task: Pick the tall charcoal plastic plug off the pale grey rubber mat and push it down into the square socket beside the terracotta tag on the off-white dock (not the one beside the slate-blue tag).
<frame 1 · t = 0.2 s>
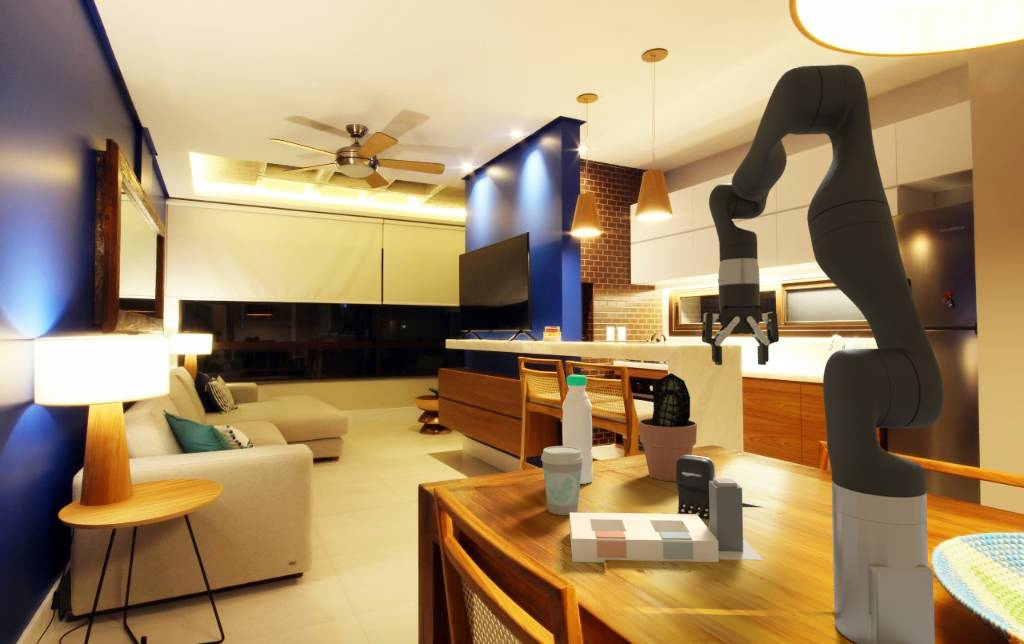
hand: (740, 364, 108), 29 cm above the table, fingers open, 8 cm apart
coffee cup: (562, 511, 108), on the table
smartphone: (747, 514, 106), on the table
water bottle: (577, 482, 128), on the table
dock: (638, 547, 89), on the table
mat: (726, 549, 88), on the table
plug: (726, 546, 88), resting on mat
potted plant: (668, 477, 132), on the table
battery: (695, 518, 103), on the table
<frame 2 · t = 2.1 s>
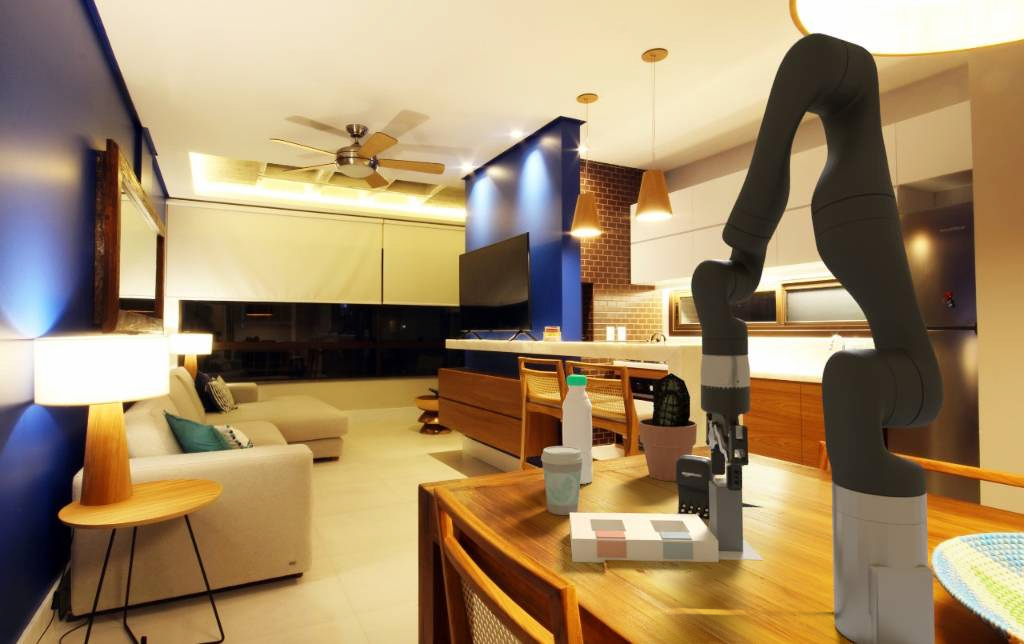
hand: (725, 481, 88), 11 cm above the table, fingers open, 8 cm apart
nothing on the table moved.
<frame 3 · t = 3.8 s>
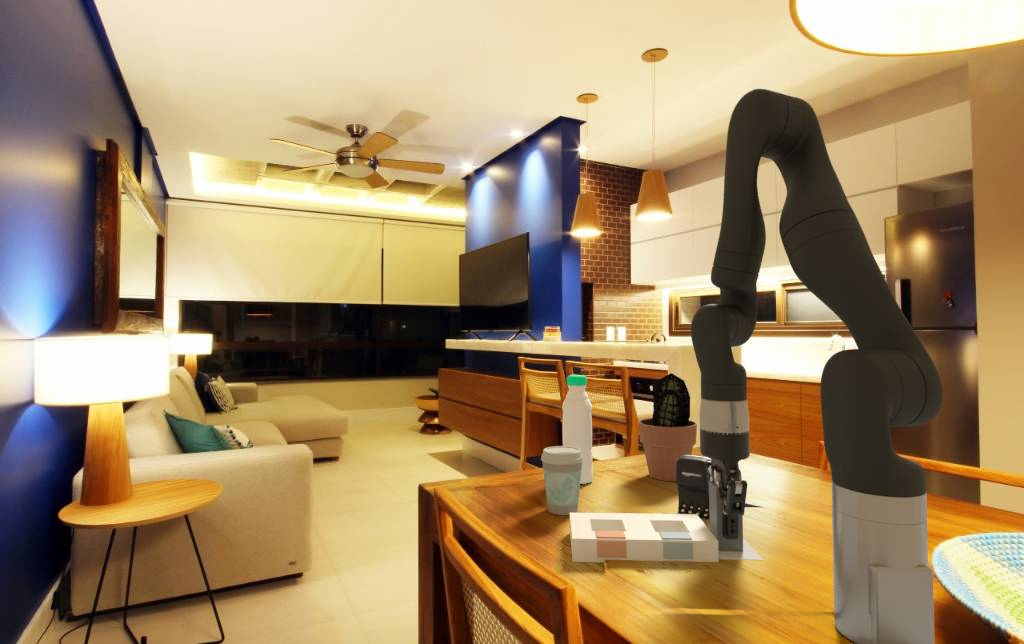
hand: (725, 532, 88), 3 cm above the table, fingers closed on plug, 4 cm apart
plug: (726, 546, 88), resting on mat, touching gripper
everything else where it was.
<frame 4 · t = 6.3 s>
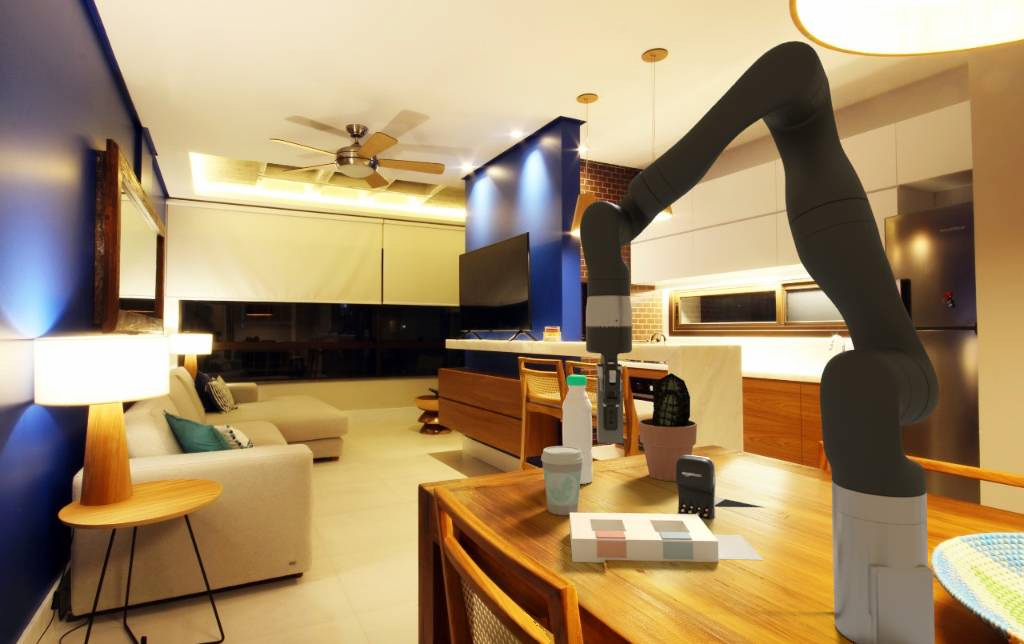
hand: (609, 426, 90), 20 cm above the table, fingers closed on plug, 4 cm apart
plug: (609, 440, 90), point 17 cm above the table, touching gripper
everything else where it was.
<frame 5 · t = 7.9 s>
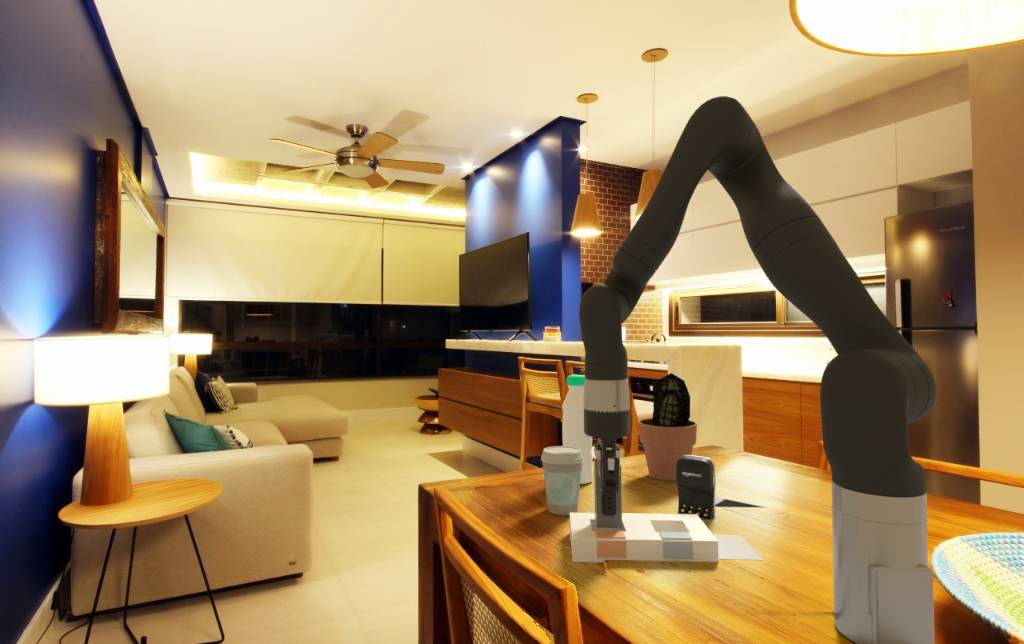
hand: (607, 509, 90), 6 cm above the table, fingers closed on plug, 4 cm apart
plug: (608, 523, 89), point 4 cm above the table, touching gripper
everything else where it was.
when the fingers open (4 cm above the table, at t = 9.0 s): plug drops 1 cm, resting on dock.
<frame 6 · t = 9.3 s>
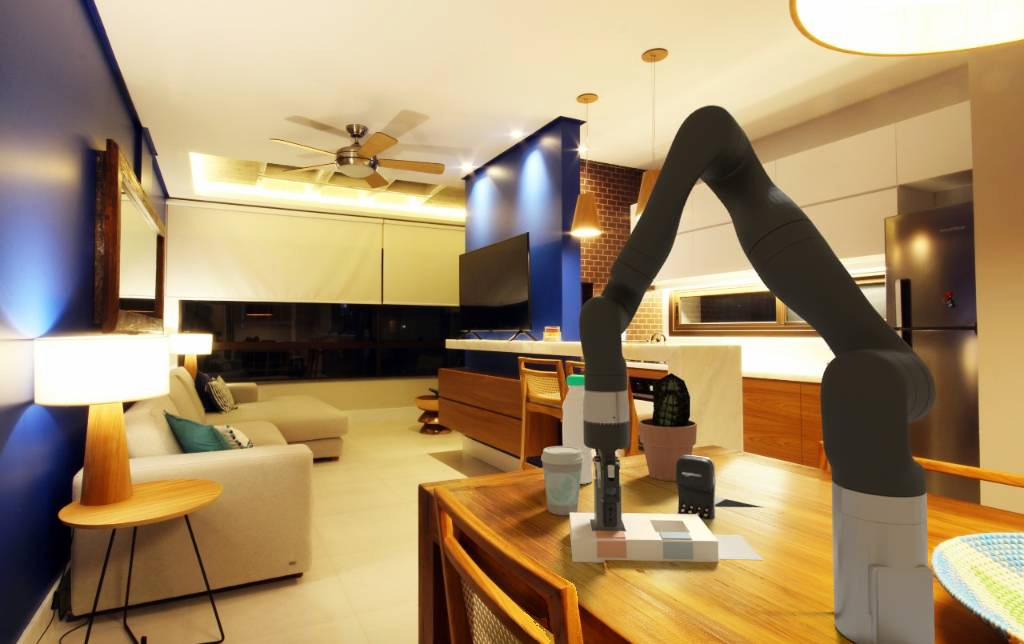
hand: (607, 517, 89), 5 cm above the table, fingers open, 7 cm apart
plug: (608, 543, 89), point 1 cm above the table, touching dock
everything else where it was.
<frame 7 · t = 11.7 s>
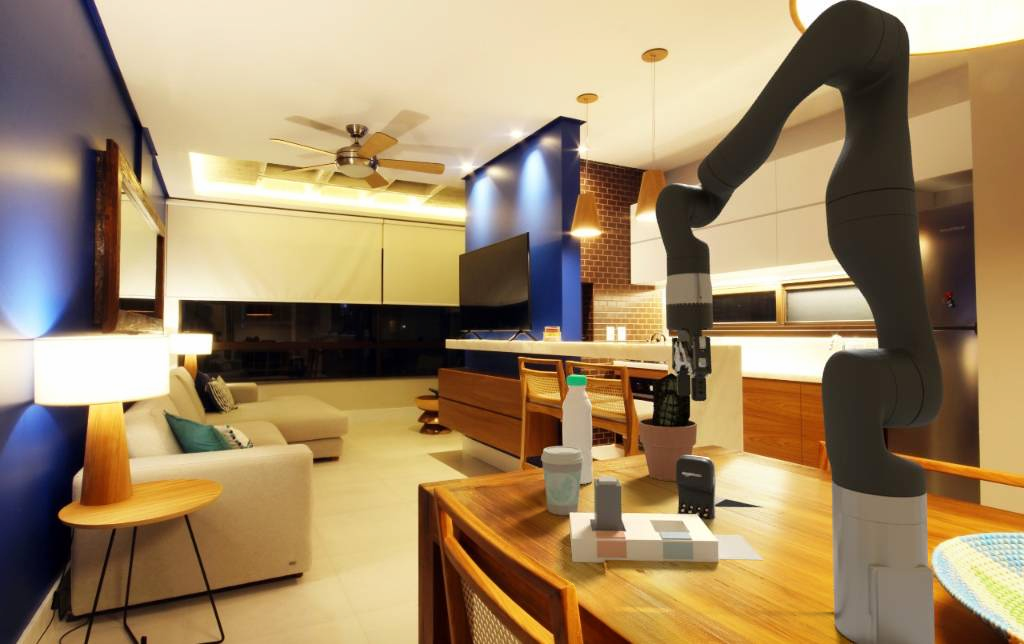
hand: (691, 398, 92), 24 cm above the table, fingers open, 8 cm apart
nothing on the table moved.
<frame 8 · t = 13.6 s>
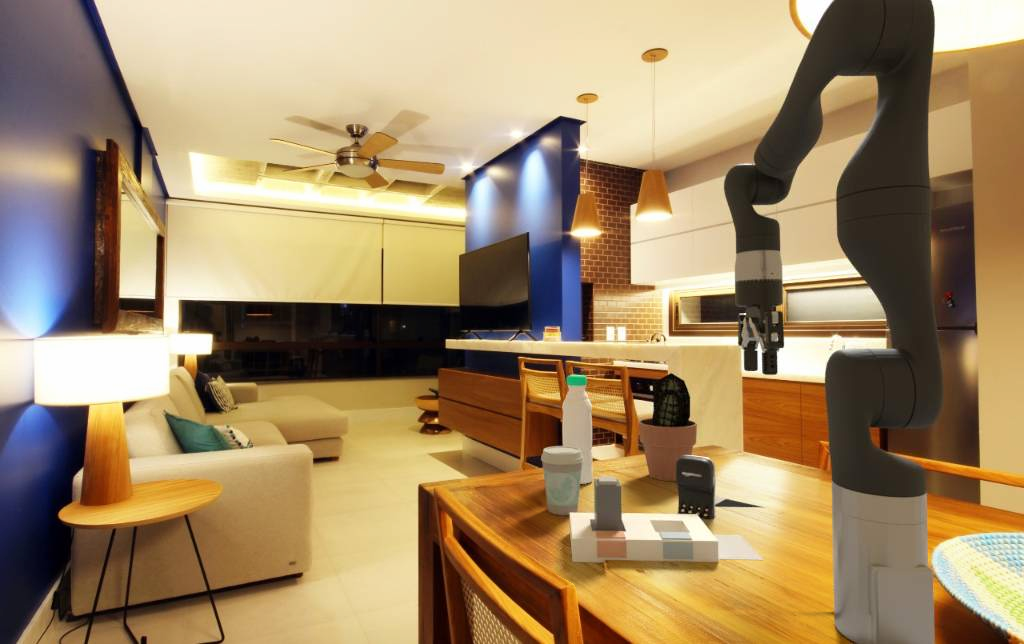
hand: (759, 372, 94), 28 cm above the table, fingers open, 8 cm apart
nothing on the table moved.
at the end: plug 0.1 cm from the target spot on the dock, point 0.6 cm above the dock's base; plug tilted 0°; the gripper is holding nothing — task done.
